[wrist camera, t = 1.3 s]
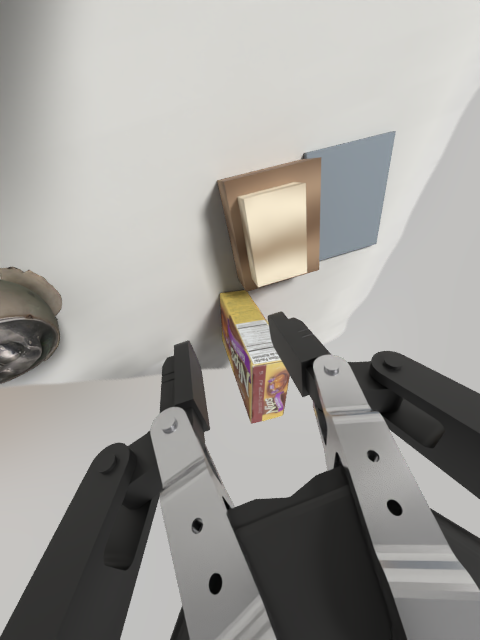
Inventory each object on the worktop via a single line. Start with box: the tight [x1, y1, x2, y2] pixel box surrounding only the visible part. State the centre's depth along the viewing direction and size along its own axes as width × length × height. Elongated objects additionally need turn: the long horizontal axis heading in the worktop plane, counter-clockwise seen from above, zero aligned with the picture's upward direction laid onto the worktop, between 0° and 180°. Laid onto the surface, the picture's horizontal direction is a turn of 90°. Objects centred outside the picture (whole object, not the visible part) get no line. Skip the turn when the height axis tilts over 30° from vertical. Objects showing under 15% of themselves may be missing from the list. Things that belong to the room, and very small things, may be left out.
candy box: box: [220, 290, 290, 423], centre depth 28 cm, size 9×4×15 cm, turn 0°
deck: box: [217, 157, 321, 292], centre depth 26 cm, size 12×10×4 cm
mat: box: [304, 131, 395, 261], centre depth 29 cm, size 13×11×1 cm
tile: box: [237, 182, 307, 287], centre depth 24 cm, size 9×6×2 cm, turn 11°
